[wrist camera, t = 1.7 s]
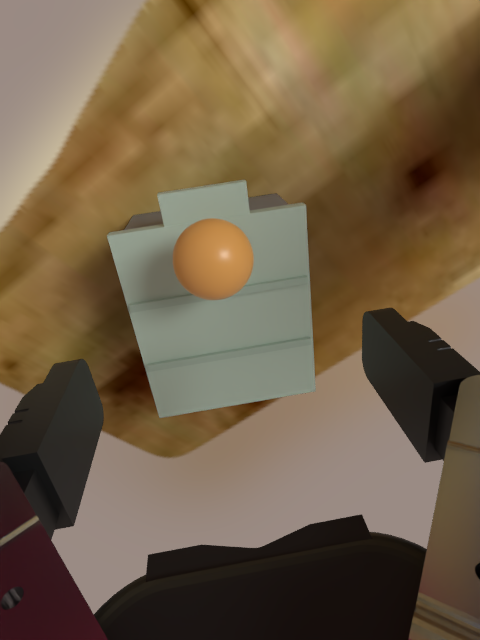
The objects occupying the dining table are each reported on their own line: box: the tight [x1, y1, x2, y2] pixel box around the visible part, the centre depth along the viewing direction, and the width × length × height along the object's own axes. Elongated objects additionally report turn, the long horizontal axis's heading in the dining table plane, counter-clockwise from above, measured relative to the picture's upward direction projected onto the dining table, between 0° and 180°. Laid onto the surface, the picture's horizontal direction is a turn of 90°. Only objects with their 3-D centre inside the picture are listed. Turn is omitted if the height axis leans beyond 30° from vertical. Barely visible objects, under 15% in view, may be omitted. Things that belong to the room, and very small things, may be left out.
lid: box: [107, 180, 316, 418], centre depth 23 cm, size 12×15×7 cm
